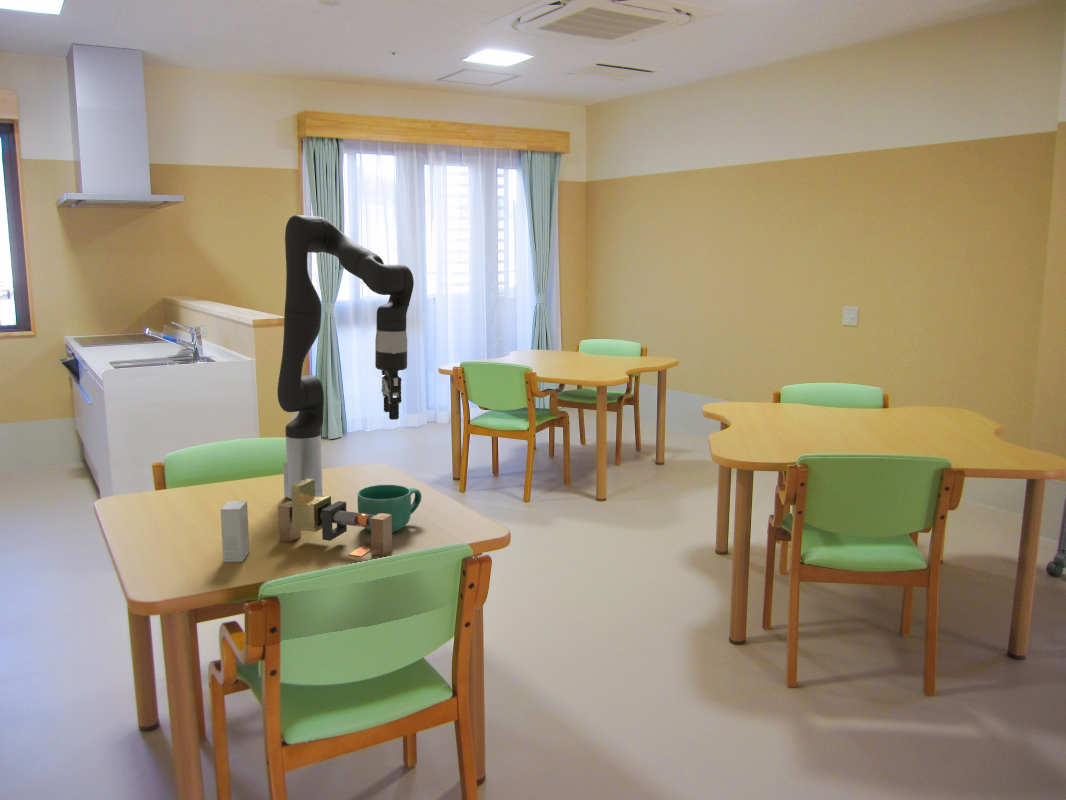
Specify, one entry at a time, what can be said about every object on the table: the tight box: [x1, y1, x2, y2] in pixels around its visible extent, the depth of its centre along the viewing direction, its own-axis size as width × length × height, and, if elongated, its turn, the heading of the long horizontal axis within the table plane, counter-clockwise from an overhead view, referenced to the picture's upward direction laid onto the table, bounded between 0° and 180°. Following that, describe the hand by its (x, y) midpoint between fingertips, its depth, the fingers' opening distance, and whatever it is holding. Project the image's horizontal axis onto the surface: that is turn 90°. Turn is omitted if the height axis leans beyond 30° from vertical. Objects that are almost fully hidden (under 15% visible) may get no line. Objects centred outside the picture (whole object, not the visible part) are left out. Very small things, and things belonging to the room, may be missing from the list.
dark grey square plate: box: [321, 500, 348, 542], centre depth 185 cm, size 2×7×7 cm, turn 162°
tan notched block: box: [291, 479, 332, 533], centre depth 186 cm, size 6×7×10 cm
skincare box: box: [220, 500, 250, 563], centre depth 177 cm, size 6×4×12 cm
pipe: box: [277, 500, 393, 558], centre depth 185 cm, size 27×8×8 cm, turn 72°
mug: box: [357, 484, 422, 533], centre depth 198 cm, size 17×13×10 cm
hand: (391, 415), depth 197 cm, fingers open, 8 cm apart
